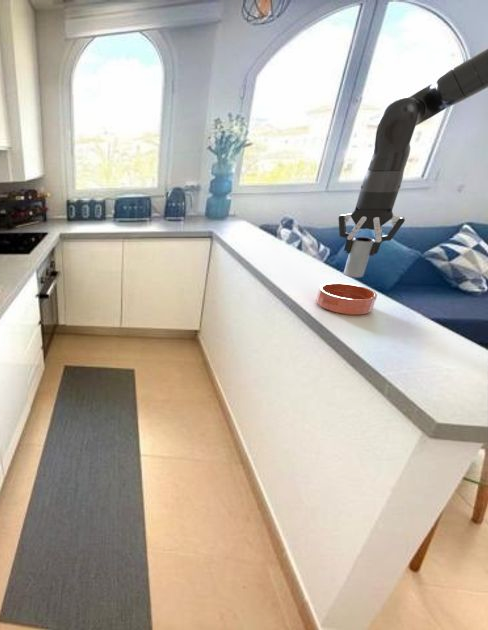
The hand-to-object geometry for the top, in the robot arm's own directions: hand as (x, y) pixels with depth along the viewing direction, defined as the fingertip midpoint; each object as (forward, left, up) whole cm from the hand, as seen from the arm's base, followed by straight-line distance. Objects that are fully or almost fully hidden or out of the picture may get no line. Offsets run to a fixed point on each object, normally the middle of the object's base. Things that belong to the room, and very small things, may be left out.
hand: (359, 253), depth 95 cm
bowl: (0, 0, -16) cm, 16 cm away
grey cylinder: (0, 0, -7) cm, 7 cm away
